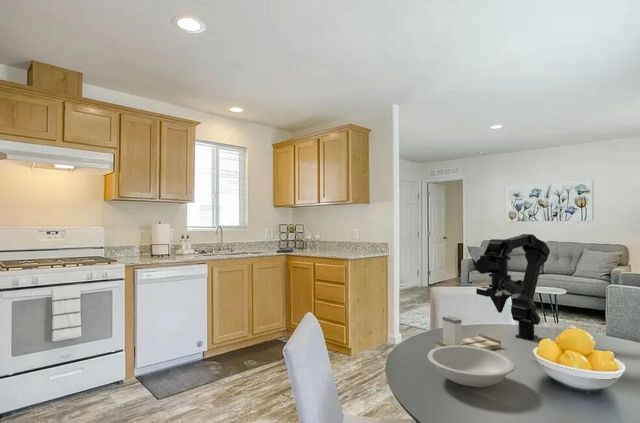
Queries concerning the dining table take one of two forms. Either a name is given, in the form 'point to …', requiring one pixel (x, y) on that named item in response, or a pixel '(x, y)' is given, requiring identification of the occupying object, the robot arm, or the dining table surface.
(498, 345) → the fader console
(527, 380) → the dining table surface
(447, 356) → the soup bowl
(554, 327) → the white cup
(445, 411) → the dining table surface
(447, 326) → the cream rectangular box
